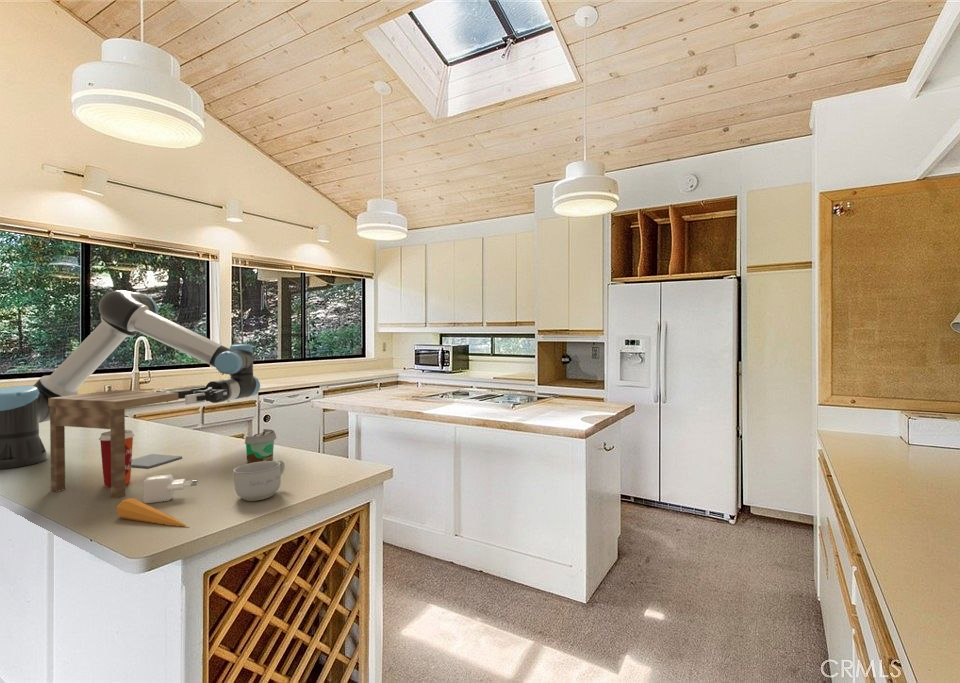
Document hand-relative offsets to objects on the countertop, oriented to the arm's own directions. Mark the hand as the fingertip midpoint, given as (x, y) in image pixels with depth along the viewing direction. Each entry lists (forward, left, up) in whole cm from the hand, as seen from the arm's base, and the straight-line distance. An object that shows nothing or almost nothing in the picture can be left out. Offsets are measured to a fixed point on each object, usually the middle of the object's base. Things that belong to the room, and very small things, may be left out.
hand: (167, 399), depth 145 cm
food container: (+26, +10, -21) cm, 35 cm away
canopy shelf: (0, -16, -21) cm, 26 cm away
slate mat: (-11, +4, -21) cm, 24 cm away
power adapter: (+24, -22, -21) cm, 39 cm away
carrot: (+33, -35, -21) cm, 52 cm away
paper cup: (0, -16, -21) cm, 26 cm away
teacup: (+44, -14, -21) cm, 51 cm away
